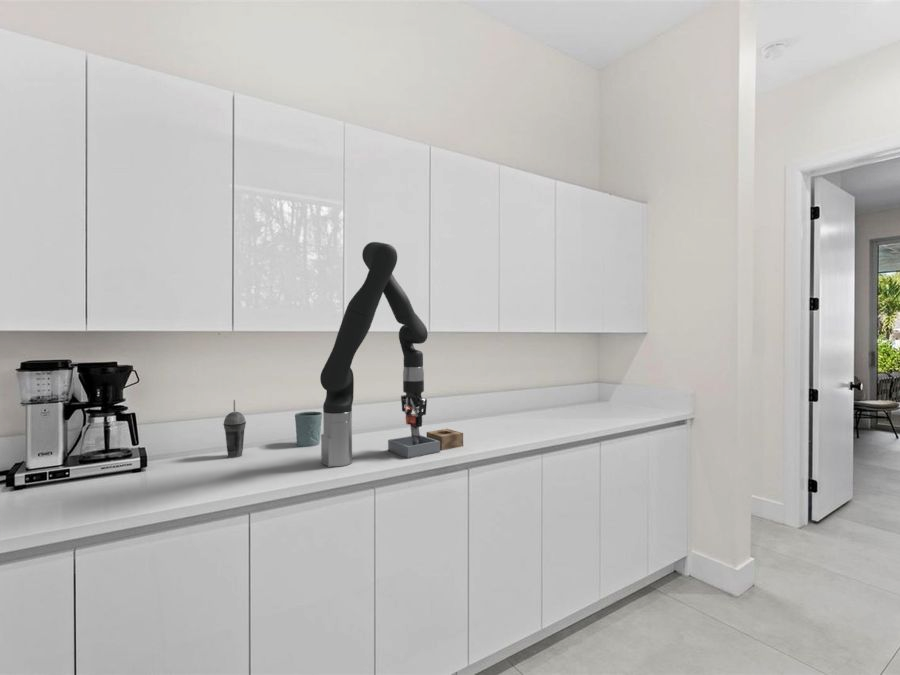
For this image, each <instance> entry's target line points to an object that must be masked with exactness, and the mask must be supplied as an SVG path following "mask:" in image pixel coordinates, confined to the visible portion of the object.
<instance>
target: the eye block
mask: <svg viewBox="0 0 900 675" xmlns="http://www.w3.org/2000/svg"><path fill="white" fill-rule="evenodd" d="M426 437H428V438H431V439H435V440H438V441H440V451H445V450H451V449H455V448H460V447H464V432H461V431H457V430H453V429H451V428H450V429H449V428H443V429H437V430H431V431H426Z"/></svg>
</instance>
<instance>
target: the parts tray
mask: <svg viewBox="0 0 900 675" xmlns="http://www.w3.org/2000/svg"><path fill="white" fill-rule="evenodd" d="M387 444H388V445H387V451H388V452H390V453H393V454H395V455H399V456H401V457H403V458H406V459H412V458H416V457H423V456H427V455H429V456H430V455H433V454H439V453H441V450H440V441H438V440H435V439H431V438H428V437H427V436H425V435H421V434H420V444H418V445H412V437H411V435H409V436H408V435H407V436H403V437H397V438H390V439H388V440H387Z"/></svg>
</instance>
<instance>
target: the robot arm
mask: <svg viewBox="0 0 900 675" xmlns="http://www.w3.org/2000/svg"><path fill="white" fill-rule="evenodd" d="M363 247H364V248H363V250H362V256H361V257H362V260H363V263H364V264H365V266H366V267H367V268H368V273H367V275H366V278H365V280H364V282H363V283H362V285H361V287H360V288H359V289H358V290H357V291H356V292H355V294H354V295H353V296H352V298H351V299H350V301H349V302H348V304H347V307H346V309H345V312H344V314H343V317H342V320H341V323H340V326H339V330H338V333H337V335H336V338H335V341H334V345H333V347H332V350H331V352H330V354H329V355H328V358H327V360H326V362H325V364H324V366H323V368H322V371H321V373H320V384H321V386H322V388H323V389H324V390H325V391H326V395H325V399H324V403H323V405H322V406H323V409H322V411H323V413H322V418H323V419H322V420H323V421H322V422H323V434H320V443H321V444H320V447H321V450H320V451H321V452H320V455H321V460H320V461H321V464H323V465H324V466H326V467H328V468H331V467H342V466H343V467H344V466H348V465H350V464H352V463H353V413H352V412H353V407H352V406H353V403H354V392H355V391H354V387H355V385H354V384H355V383H354V382H355V380H354V372H353V370H352V368H351V366H352V362H353V360H354V358H355V356H356V353H357V351H358V349H359V348H360V346H361V344H362V343H363V342H364V340H365V339H366V336H367V334H369V330H370V328H371V326H372V323H373V320H374V318H375V314H376V312H377V309H378V307H379V304H380V301H381V299H382V296H383V295H384V297H385V298H386V300H387V302H388V303H387V304H388V305H389V308H390V309H391V311H392V314H393V316H394V317H395V320H396V322H397V323H398V324H400V325H402V326H401V327H400V328H399V332H398V340H399V344H400V347H401V351H402V354H403V371H402V372H403V373H402V388H403V389H402V391H403V393H405V395H404V394H403V395H401V396H400V400H401V412H404V414H405V417H406V416H407V415H408V414H409V415H411V414H413V413H412V412H413V411H414V414H415V415H416V427H419V428H420V427H421V428H422V426H423V422H422V421H423V416H426V415H427V407H428V406H427V403H428V399H427V398H423V396H422V393H424V391H425V378H424V377H425V375H424V374H425V372H424V353H423V352H422V351H421V350H418V349H416V347H415V346H414V344H415V345H416V344H418V345H419V344H420V345H421V344H423V343H426V341H427V338H428V335H429V334H428V330H427V327H426V324H424V322H423V321H422V319H421V318H420V317H419V316H418V314H417V313H416V312H415V310H414V309H413V306H412V304H411V301H410V299H409V297H408V295H407V294H406V292H405V291H404V290H403V288H402V286H401V285H400V283H399V282H398V281H397V279H396V278H395V276H394V274H393V272H394V270H395V268H396V265H397V262H398V251H397V250H396V248H395V247H394V246H393V245H392V244H388V243H384V242H380V241H372V242H369V243H367V244H366V245H365V246H363Z"/></svg>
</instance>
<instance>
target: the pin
mask: <svg viewBox="0 0 900 675" xmlns="http://www.w3.org/2000/svg"><path fill="white" fill-rule="evenodd" d="M422 423H423V420H422ZM405 424H406V425H409V427H410V433H411V434H410V436H411V437H412V445H418V444H420V435H421V434H420V427H416V415H415V413H411V415H409V414H408V415H407V416H406V415H405Z"/></svg>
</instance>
